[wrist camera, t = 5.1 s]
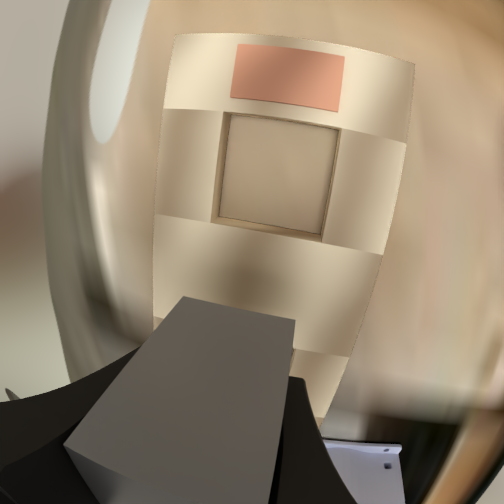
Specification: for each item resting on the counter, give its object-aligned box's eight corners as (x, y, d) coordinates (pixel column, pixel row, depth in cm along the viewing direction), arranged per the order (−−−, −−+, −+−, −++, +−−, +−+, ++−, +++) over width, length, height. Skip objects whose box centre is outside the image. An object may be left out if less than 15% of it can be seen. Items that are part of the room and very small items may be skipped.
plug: (295, 319, 10) (264, 516, 4) (275, 399, 12) (240, 556, 5) (183, 295, 11) (63, 444, 4) (181, 377, 12) (106, 511, 6)
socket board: (406, 70, 13) (416, 62, 11) (309, 435, 21) (308, 452, 20) (185, 42, 14) (172, 32, 12) (166, 403, 23) (158, 417, 21)
